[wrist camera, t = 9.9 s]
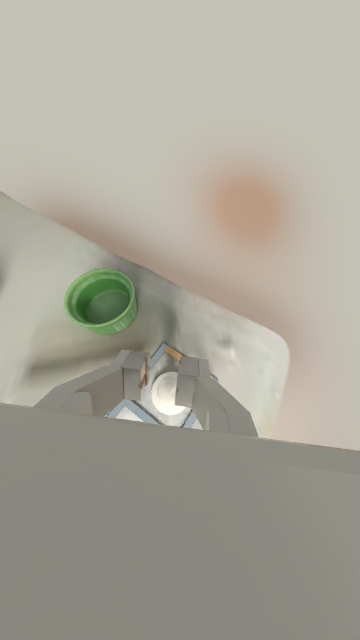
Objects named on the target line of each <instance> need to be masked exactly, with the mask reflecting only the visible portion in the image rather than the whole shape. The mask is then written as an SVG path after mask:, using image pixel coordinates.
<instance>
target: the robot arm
mask: <svg viewBox="0 0 360 640" xmlns="http://www.w3.org/2000/svg"><path fill="white" fill-rule="evenodd" d="M150 360H151V355H150V353H147V352H139V351H132V350H121V351H120V353H119V354H118V355H117V356H116V358H115V359H114V360H113V361H112V363H111V364H110V365H109V366H104V367H102V368H99V369H97V370H95V371H92V372H90V373H88V374H85V375H83V376H80V377H78V378H76V379H73V380H71V381H69V382H66V383H64V384H62V385H59V386H57V387H55V388H54V389H52V390H51V391H50V392H49V393H48V394H47V395H46V396H45V397H44V398H43V399H41V400H40V401H39V402H38V403H37V404H36V405H35V406H34V407H27V406H19V405H12V404H4V403H0V640H360V451H356V450H348V449H341V448H334V447H326V446H319V445H311V444H304V443H296V442H288V441H281V440H273V439H266V438H259V437H258V434H257V431H256V428H255V426H254V423H253V420H252V417H251V415H250V412H249V411H247V410H246V409H245V408H244V407H243V406H242V405H241V404H240V403H239V402H238V401H237V400H236V399H235V398H234V397H233V396H232V395H231V394H229V393H228V392H227V391H226V390H225V389H224V388H223V387H222V386H221V385H220V384H219V383H218V382H217V381H216V380H215V379H213V378H211V375H210V368H209V361H208V359H202V358H190V357H180V359H179V366H178V374H177V383H176V394H175V405H177V406H184V407H190V408H192V410H193V412H194V414H195V415H196V417H197V419H198V421H199V422H200V424H201V426H202V428H203V429H204V430H199V429H191V428H184V427H177V426H169V425H162V424H154V423H147V422H139V421H131V420H124V419H116V418H109V417H103V416H105V415H106V414H107V413H108V412H110V411H111V410H112V409H113V408H115V407H116V406H117V405H118V404H120V403H121V402H122V401H123V400H124V399H128V400H138V401H141V399H142V397H143V394H144V391H145V386H146V385H147V383H148V381H149V376H150V366H149V362H150Z"/></svg>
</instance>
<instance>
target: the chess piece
mask: <svg viewBox="0 0 360 640" xmlns="http://www.w3.org/2000/svg"><path fill="white" fill-rule="evenodd" d="M177 374H178V373H177V372H166V373H163V374H161V375H160V376H159V377H158V378H157V379H156V380H155V381H154V383H153V386H152V389H151V398H152V402H153V404H154V406H155V407H156V408H157V410H159V411H160V412H161V413H163V414H167V415H175V414H178V413H180V412H181V411H183V410H184V409H185V408H186V407H184V406H177V405H175V394H176V383H177Z"/></svg>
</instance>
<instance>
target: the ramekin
mask: <svg viewBox="0 0 360 640" xmlns="http://www.w3.org/2000/svg"><path fill="white" fill-rule="evenodd" d="M64 308H65V311H66V313H67V315H68V317H69V318H70V319H71V320H72V321H73V322H75V323H76V324H78V325H81V326H83V327H86V328H88V329H90V330H91V331H93V332H96V333H99V334H114V333H117V332H120V331H122V330H124V329H125V328H126V327H128V326H129V325H130V324H131V323H132V321H133V320H134V318H135V316H136V314H137V301H136V297H135V288H134V285H133V282H132V281H131V279H130V278H129V277H128V276H127V275H126V274H124V273H122V272H120V271H117V270H114V269H97V270H93V271H90V272H88V273H85V274H83V275H82V276H80V277H79V278H77V279H76V280H75V281H74V282H73V283H72V284H71V286H70V287H69V289H68V290H67V292H66V295H65V298H64Z"/></svg>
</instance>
